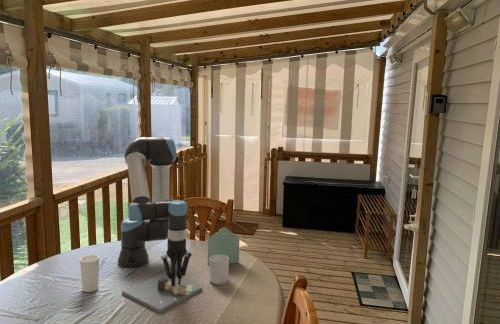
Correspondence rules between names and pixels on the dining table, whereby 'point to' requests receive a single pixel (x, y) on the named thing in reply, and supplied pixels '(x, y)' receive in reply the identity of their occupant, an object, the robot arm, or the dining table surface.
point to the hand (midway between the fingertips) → (175, 292)
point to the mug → (219, 269)
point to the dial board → (159, 293)
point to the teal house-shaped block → (224, 245)
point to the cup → (89, 272)
